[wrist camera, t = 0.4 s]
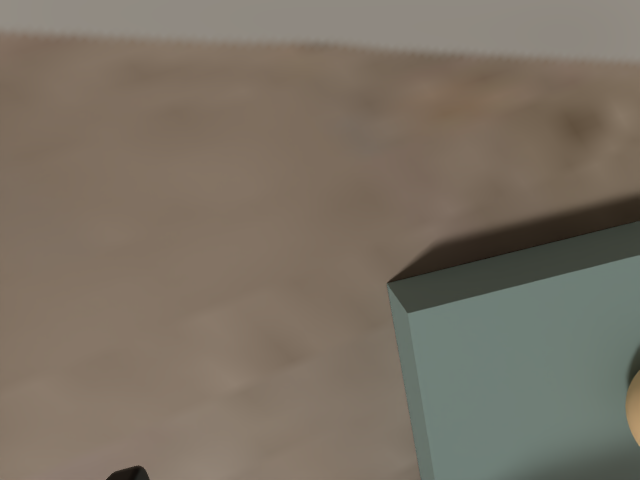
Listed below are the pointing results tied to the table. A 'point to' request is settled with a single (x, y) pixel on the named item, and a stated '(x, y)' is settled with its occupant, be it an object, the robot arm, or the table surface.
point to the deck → (525, 361)
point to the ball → (634, 407)
